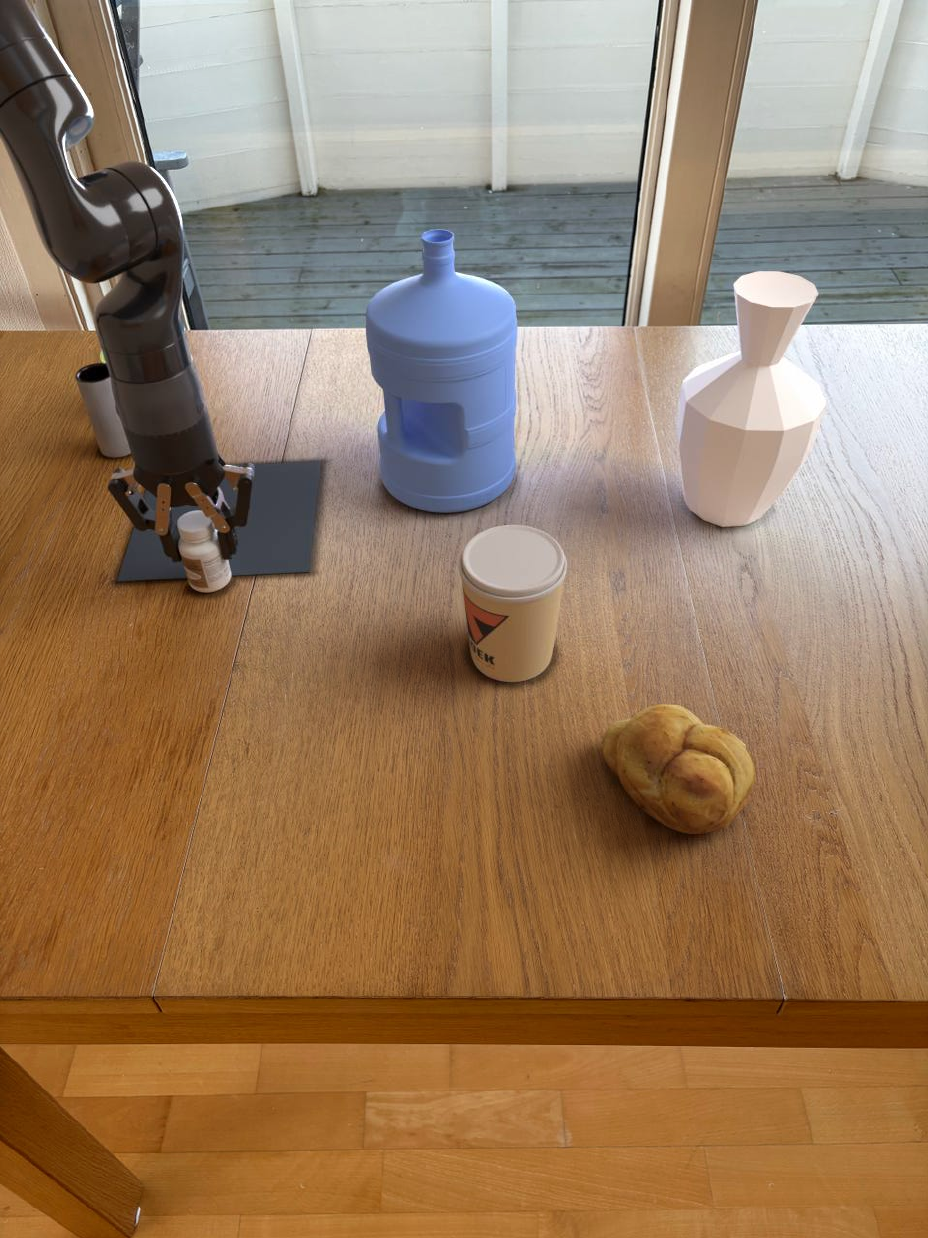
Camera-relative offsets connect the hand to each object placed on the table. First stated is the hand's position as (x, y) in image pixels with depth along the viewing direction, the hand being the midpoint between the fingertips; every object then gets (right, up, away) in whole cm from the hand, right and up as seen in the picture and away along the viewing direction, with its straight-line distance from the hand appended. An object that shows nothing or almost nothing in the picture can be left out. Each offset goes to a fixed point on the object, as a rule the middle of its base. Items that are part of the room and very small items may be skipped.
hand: (203, 555), depth 96 cm
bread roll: (+44, -20, -17) cm, 51 cm away
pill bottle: (0, -2, +2) cm, 4 cm away
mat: (0, +5, +10) cm, 11 cm away
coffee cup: (+31, -10, -6) cm, 33 cm away
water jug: (+24, +10, +15) cm, 30 cm away
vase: (+56, +6, +10) cm, 57 cm away
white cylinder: (-16, +14, +21) cm, 30 cm away
